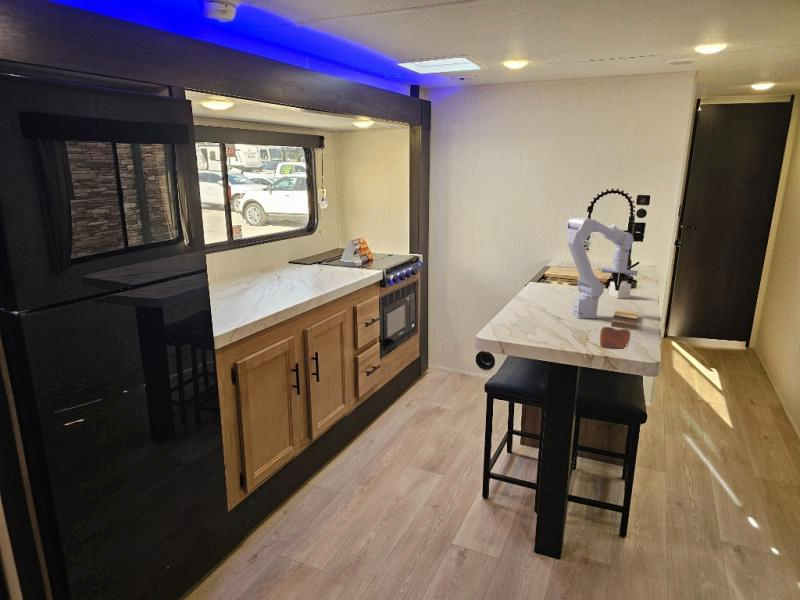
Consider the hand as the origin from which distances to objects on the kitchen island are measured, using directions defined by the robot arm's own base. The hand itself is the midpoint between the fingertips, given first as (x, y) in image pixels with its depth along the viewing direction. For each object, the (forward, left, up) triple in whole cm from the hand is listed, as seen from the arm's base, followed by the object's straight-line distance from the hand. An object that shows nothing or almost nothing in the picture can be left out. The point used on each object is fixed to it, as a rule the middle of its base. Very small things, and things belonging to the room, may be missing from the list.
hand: (616, 290), depth 230 cm
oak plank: (+1, -9, -10) cm, 14 cm away
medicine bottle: (+16, +30, -11) cm, 36 cm away
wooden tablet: (-16, -36, -11) cm, 41 cm away
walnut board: (-4, -19, -10) cm, 22 cm away
